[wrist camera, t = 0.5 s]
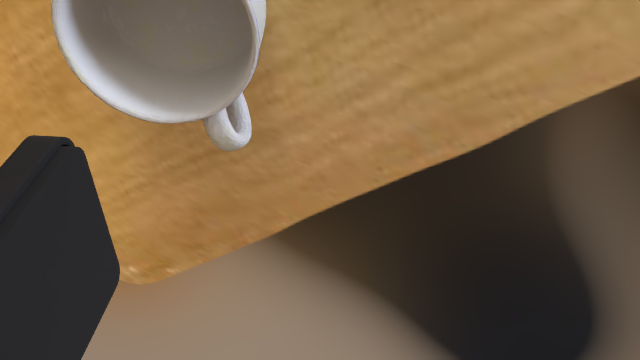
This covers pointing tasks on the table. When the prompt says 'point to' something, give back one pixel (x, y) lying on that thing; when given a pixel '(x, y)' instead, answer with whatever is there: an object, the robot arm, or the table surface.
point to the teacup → (167, 58)
